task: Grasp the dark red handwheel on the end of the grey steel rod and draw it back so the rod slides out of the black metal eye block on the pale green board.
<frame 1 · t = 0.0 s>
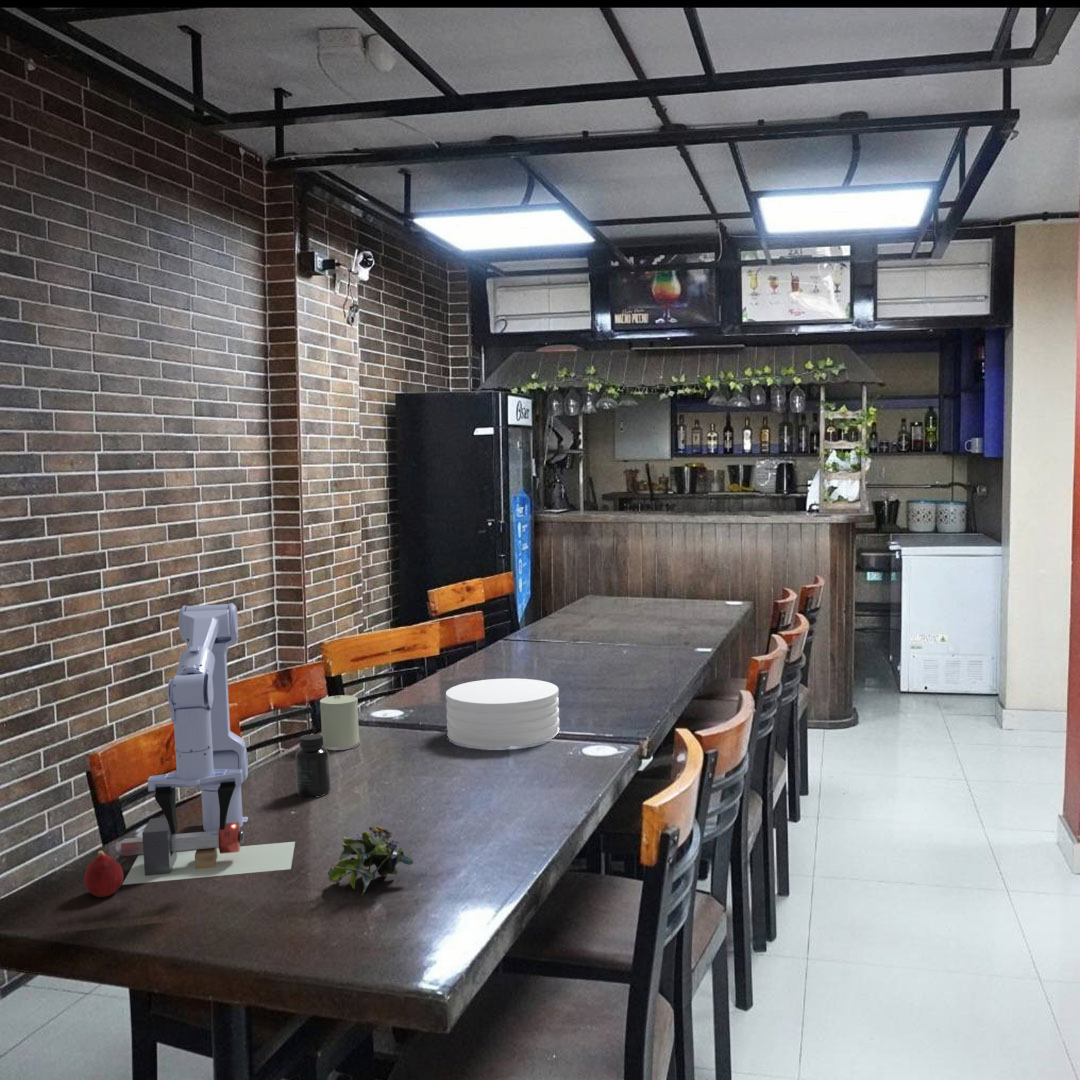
hand: (198, 829, 171), 10 cm above the table, tool pointing down, fingers open, 7 cm apart
eye block: (161, 866, 180), resting on board
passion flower: (369, 887, 172), on the table
board: (213, 867, 181), on the table
red kuri squash: (105, 900, 169), on the table
rod: (180, 842, 180), point 5 cm above the table, slide at 0.0 cm
plate stack: (503, 736, 263), on the table
can: (340, 746, 257), on the table
brown rectangular block: (206, 862, 181), resting on board
supplement bottle: (313, 794, 221), on the table
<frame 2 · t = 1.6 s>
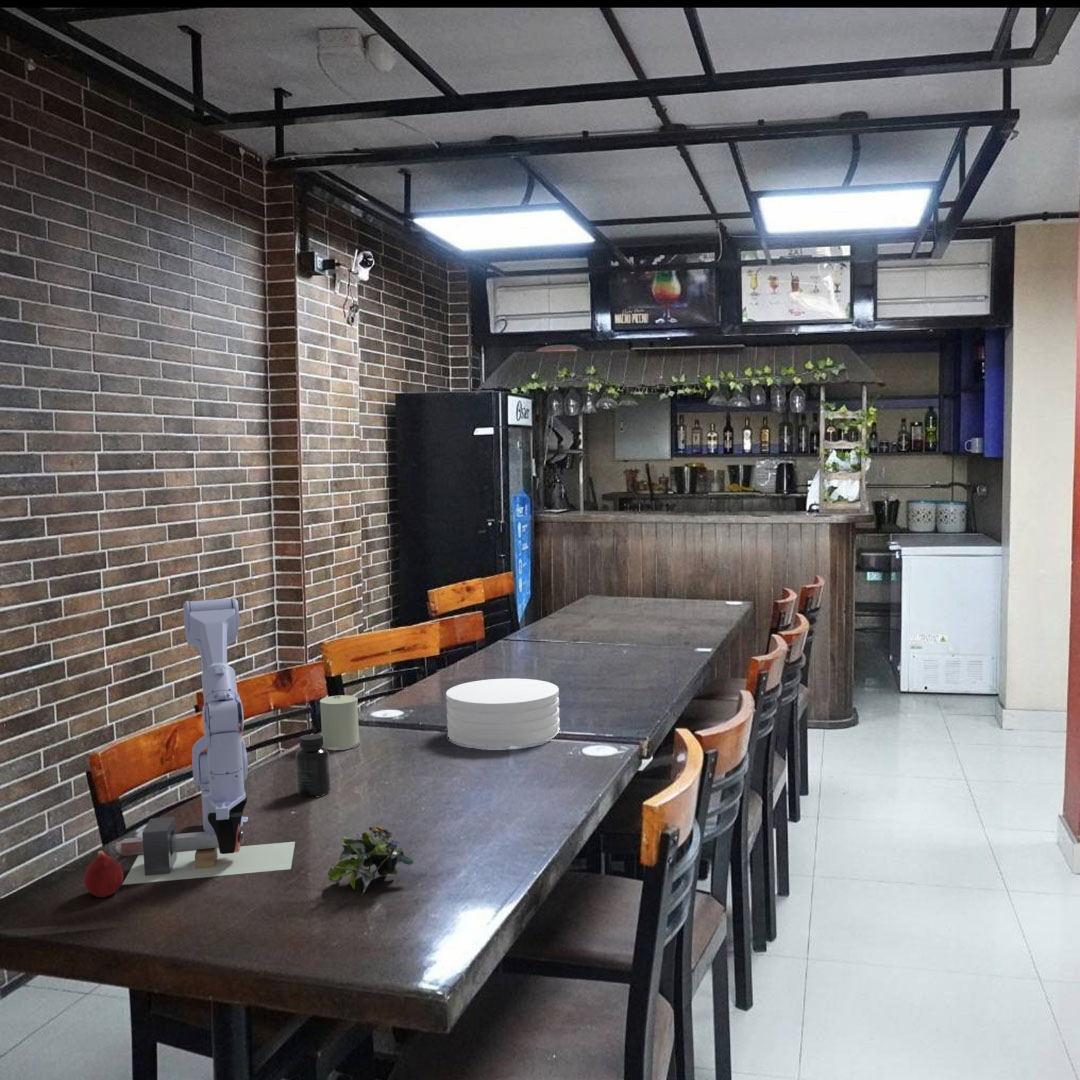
hand: (230, 846, 182), 3 cm above the table, tool pointing down, fingers closed on rod, 5 cm apart
rod: (180, 842, 180), point 5 cm above the table, slide at 0.0 cm, touching gripper
everything else where it was.
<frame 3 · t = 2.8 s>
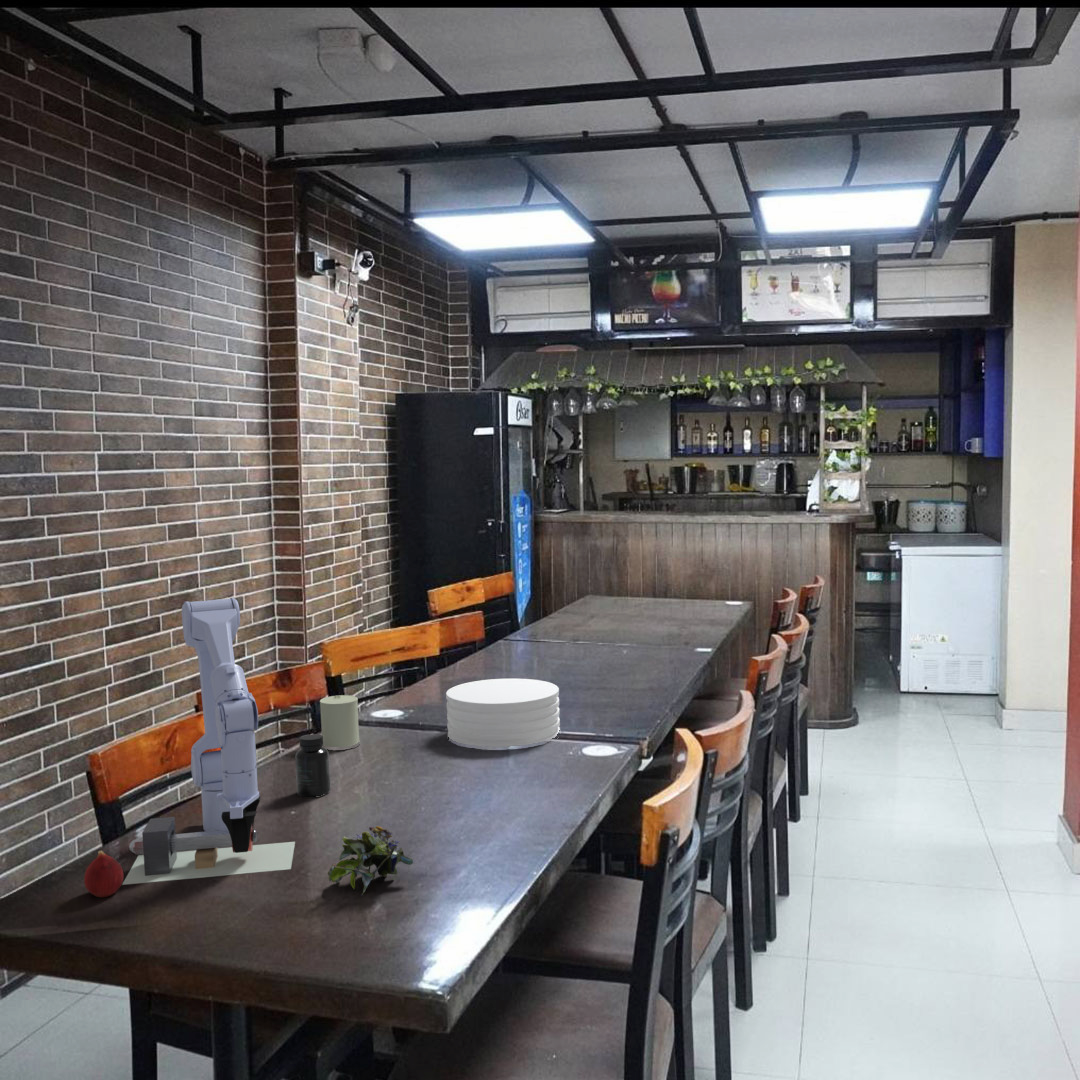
hand: (243, 845, 182), 3 cm above the table, tool pointing down, fingers closed on rod, 5 cm apart
rod: (193, 841, 180), point 5 cm above the table, slide at 2.2 cm, touching gripper
everything else where it was.
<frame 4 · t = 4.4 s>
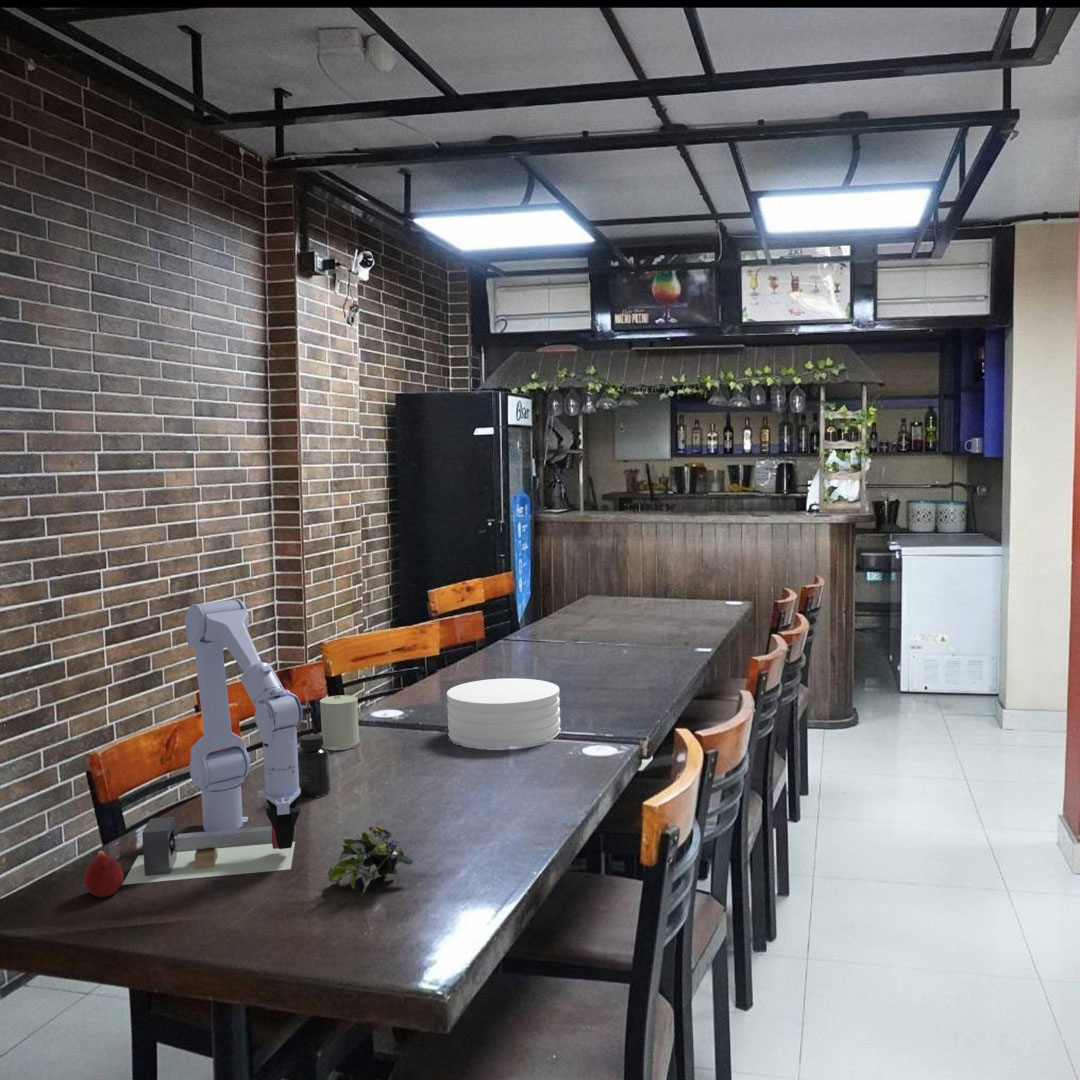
hand: (285, 842, 183), 3 cm above the table, tool pointing down, fingers closed on rod, 5 cm apart
rod: (233, 837, 182), point 5 cm above the table, slide at 8.8 cm, touching gripper
everything else where it was.
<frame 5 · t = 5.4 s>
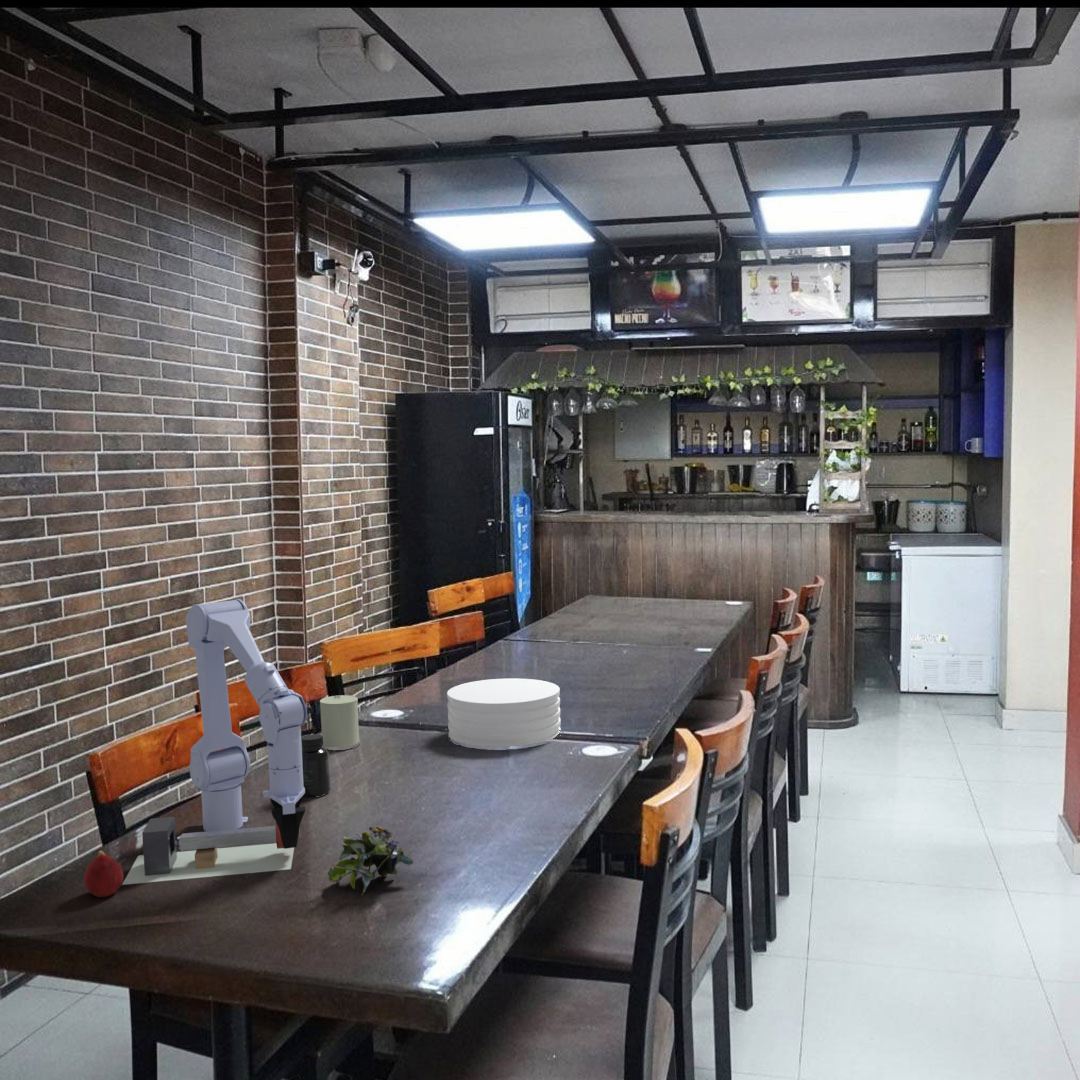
hand: (289, 841, 183), 3 cm above the table, tool pointing down, fingers closed on rod, 5 cm apart
rod: (237, 837, 182), point 5 cm above the table, slide at 9.5 cm, touching gripper
everything else where it was.
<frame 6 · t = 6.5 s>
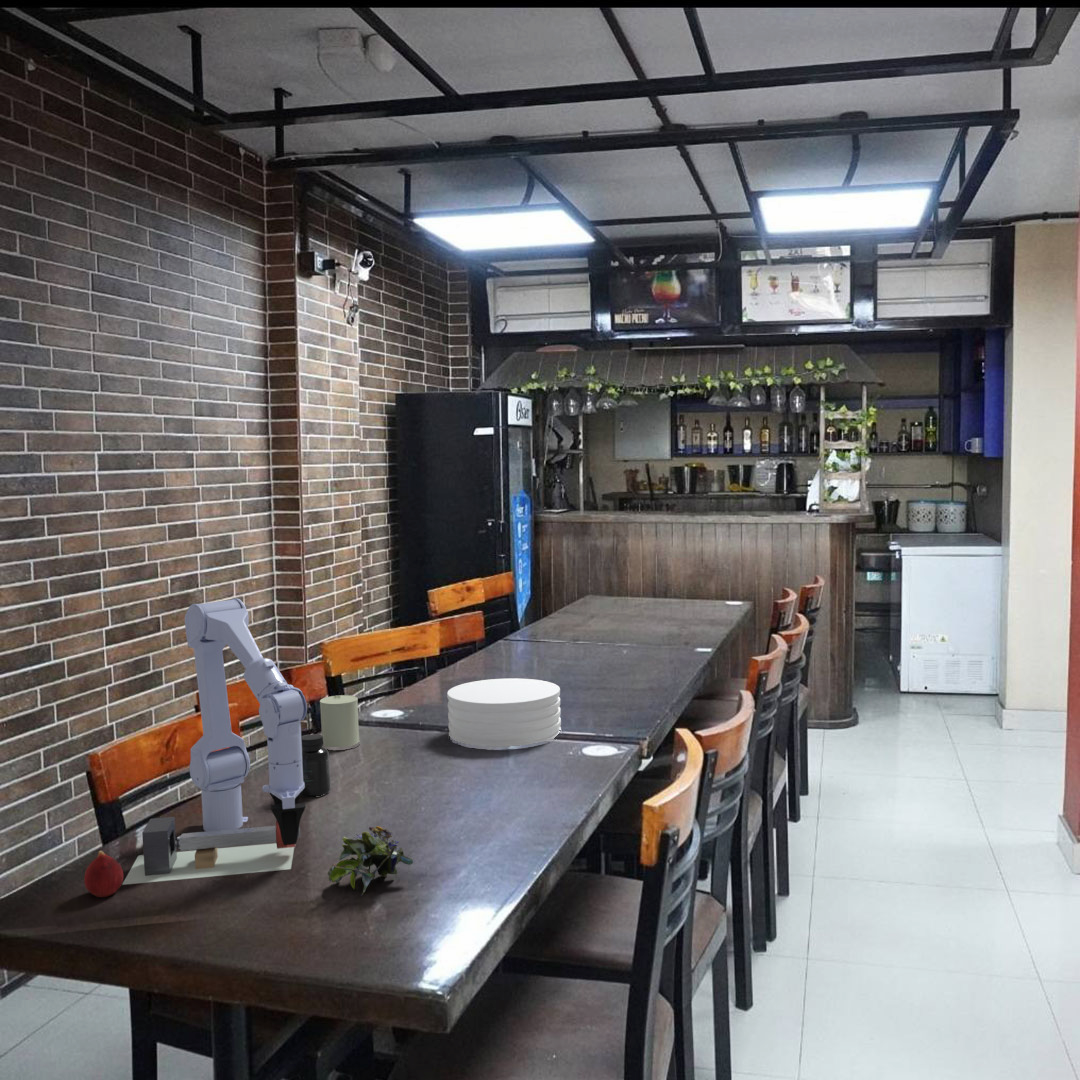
hand: (288, 836, 183), 4 cm above the table, tool pointing down, fingers open, 7 cm apart
rod: (237, 837, 182), point 5 cm above the table, slide at 9.5 cm
everything else where it was.
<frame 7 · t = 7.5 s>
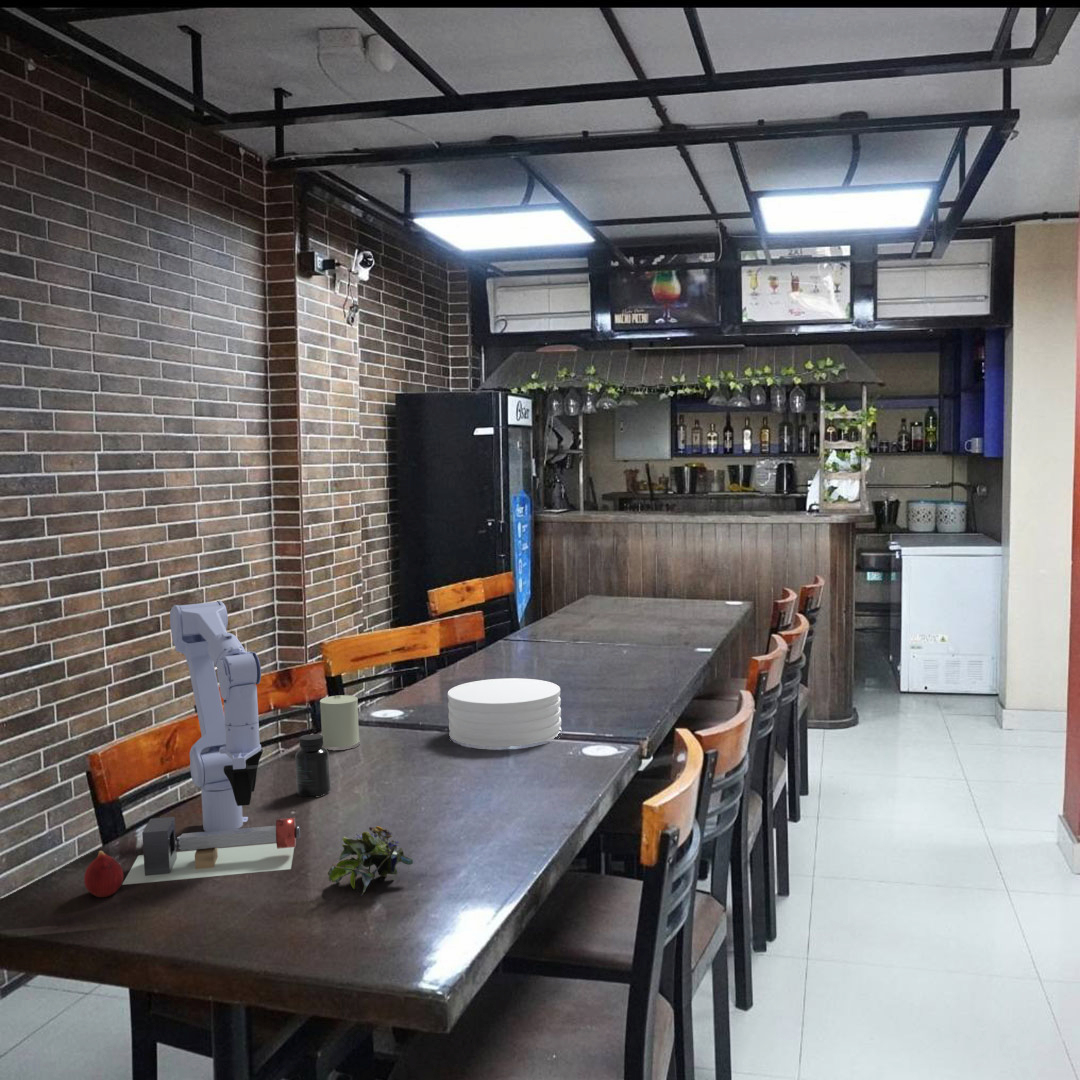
hand: (245, 798, 186), 10 cm above the table, tool pointing down, fingers open, 7 cm apart
nothing on the table moved.
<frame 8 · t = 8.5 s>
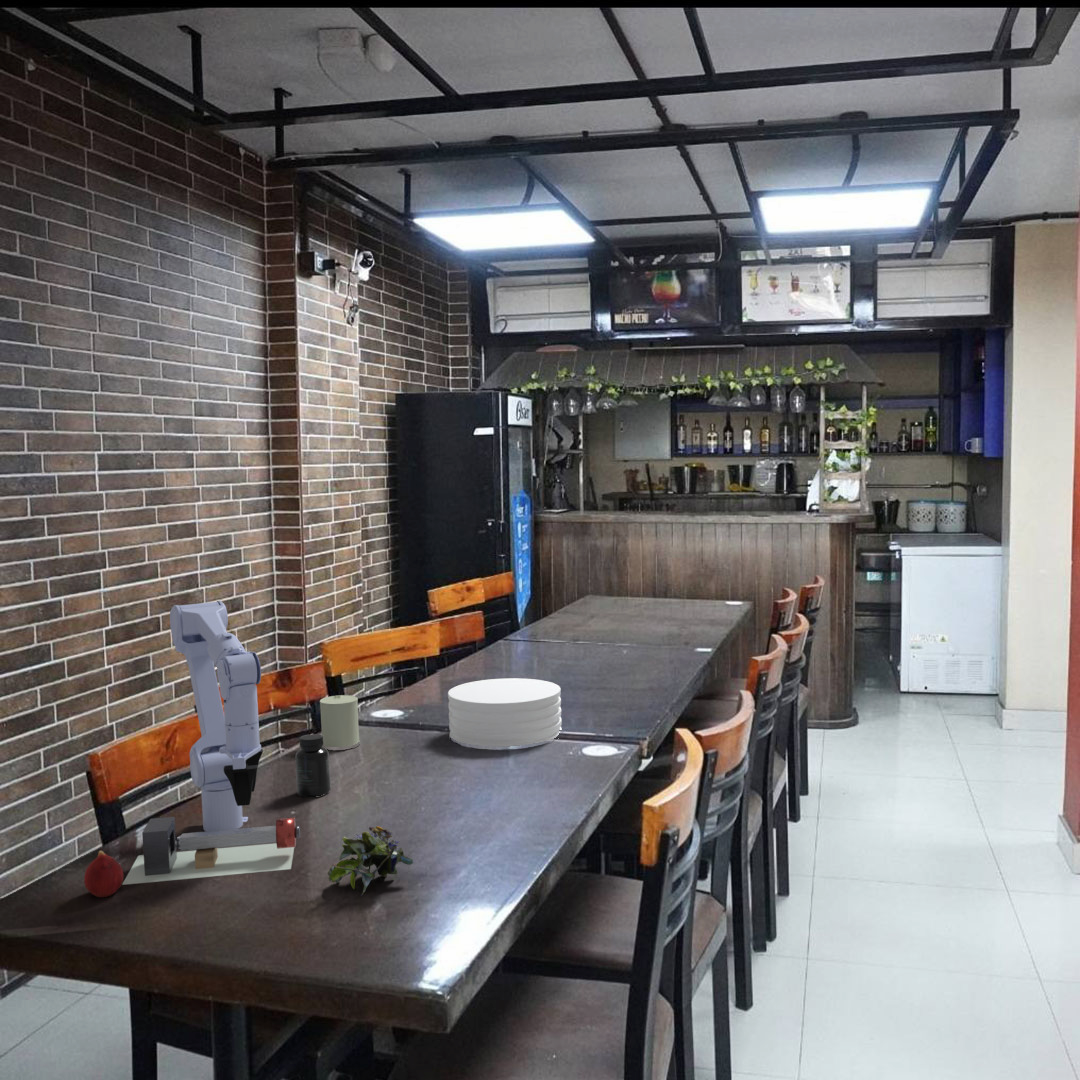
hand: (245, 798, 186), 10 cm above the table, tool pointing down, fingers open, 7 cm apart
nothing on the table moved.
at the end: rod slide at 9.5 cm; the gripper is holding nothing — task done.
